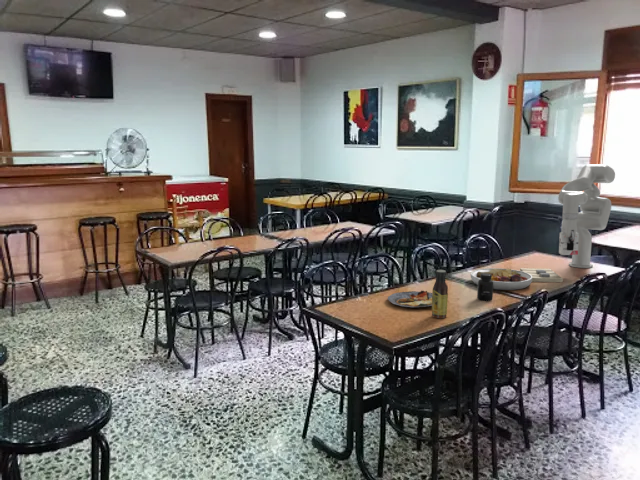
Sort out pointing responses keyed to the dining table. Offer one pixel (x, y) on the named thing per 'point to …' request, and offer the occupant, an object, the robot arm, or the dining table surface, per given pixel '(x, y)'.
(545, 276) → the grey mark
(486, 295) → the supplement bottle
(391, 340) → the dining table surface
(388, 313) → the dining table surface
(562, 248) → the ink box
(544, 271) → the grey mark
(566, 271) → the dining table surface
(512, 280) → the bowl
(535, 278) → the birch board
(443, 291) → the sauce bottle
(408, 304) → the food plate
